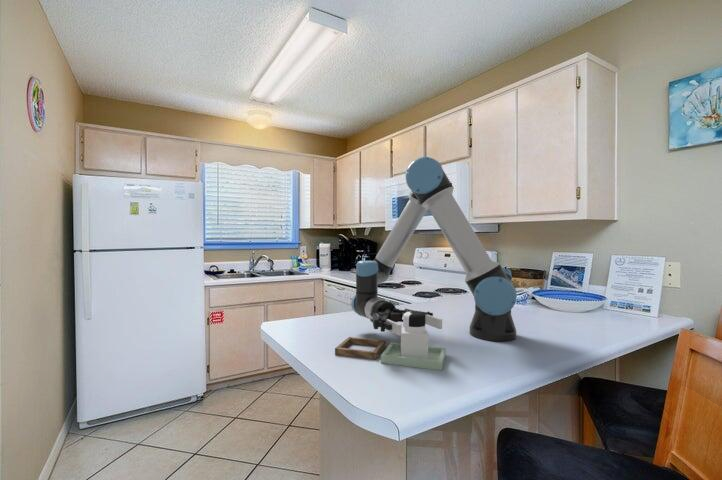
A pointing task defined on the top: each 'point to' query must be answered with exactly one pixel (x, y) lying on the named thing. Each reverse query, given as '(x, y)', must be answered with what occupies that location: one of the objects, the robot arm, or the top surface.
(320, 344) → the top surface
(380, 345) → the frame
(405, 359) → the tray
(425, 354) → the medicine bottle
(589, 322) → the top surface
